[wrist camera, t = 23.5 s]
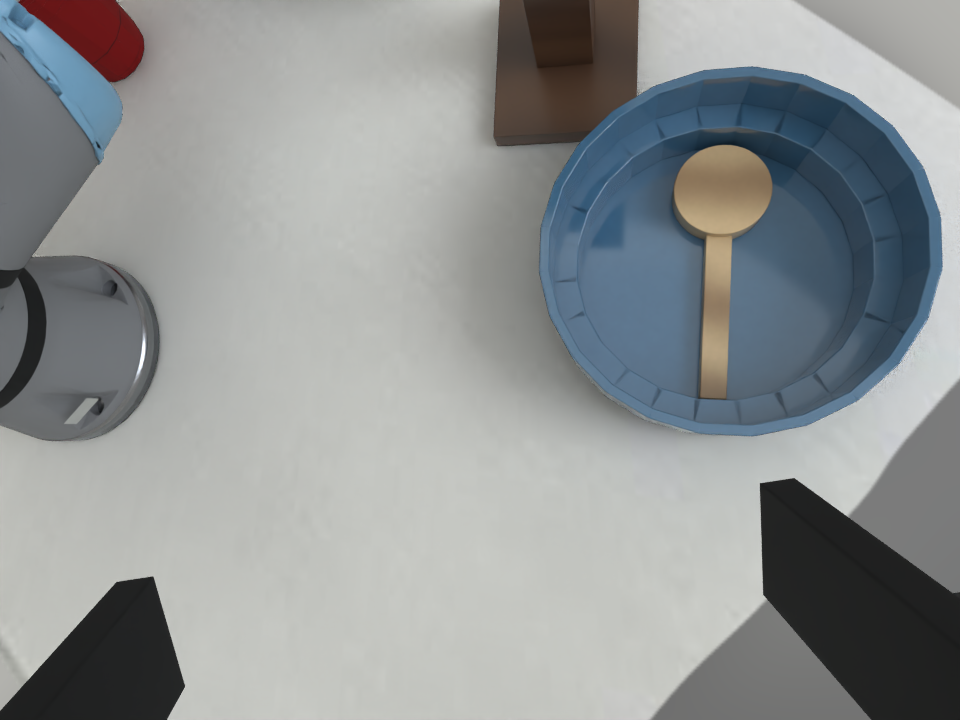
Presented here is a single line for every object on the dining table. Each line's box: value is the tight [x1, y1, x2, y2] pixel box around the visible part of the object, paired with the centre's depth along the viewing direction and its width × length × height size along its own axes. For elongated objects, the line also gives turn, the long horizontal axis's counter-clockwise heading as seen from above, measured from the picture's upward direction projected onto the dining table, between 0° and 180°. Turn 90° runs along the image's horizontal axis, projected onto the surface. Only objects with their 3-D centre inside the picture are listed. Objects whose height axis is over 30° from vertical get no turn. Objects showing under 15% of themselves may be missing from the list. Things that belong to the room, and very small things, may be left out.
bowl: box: [539, 66, 943, 436], centre depth 38 cm, size 21×21×7 cm
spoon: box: [672, 145, 772, 400], centre depth 39 cm, size 16×6×2 cm, turn 177°
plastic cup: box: [16, 0, 144, 82], centre depth 48 cm, size 11×11×12 cm
